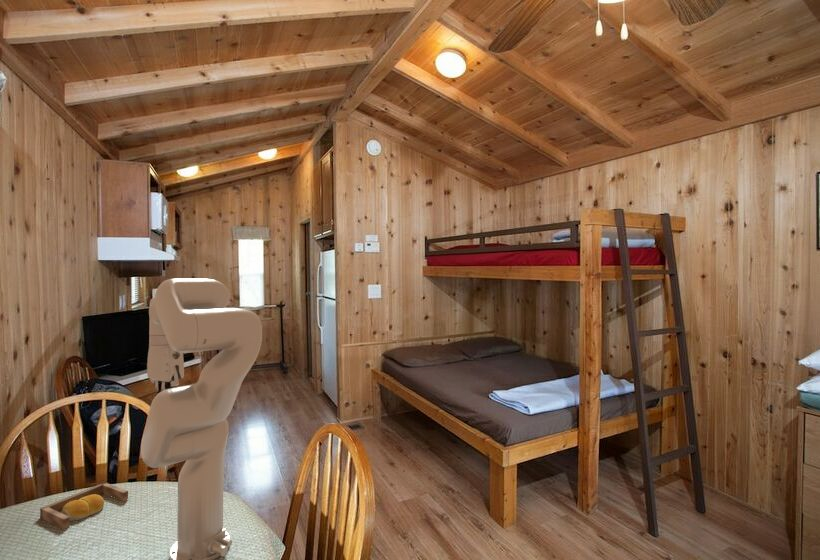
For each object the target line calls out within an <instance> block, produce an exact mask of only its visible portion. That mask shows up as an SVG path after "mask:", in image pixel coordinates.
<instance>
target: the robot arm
mask: <svg viewBox="0 0 820 560" xmlns="http://www.w3.org/2000/svg"><path fill="white" fill-rule="evenodd" d="M230 294H231V293H230V290H229V288H227V286H226V285H225V283H222V282H221V281H219V280H217V279H211V278H169V279H166V280H163V281H162V282H161V283H159V285H158V287H157V289H156V291H155V295H154V297H152V298H151V299H150V301H149V306H148V308H149V309H148V315H149V325H148V326H149V329H148V331H149V332H148V334H149V340H148V342H149V343H148V352H147V364H146V375H147V377H148V379H149V381H150V383H152V384H154V386H155V391H156V395H155V396H154V397H153V399H152V401H151V404H150V408H149V409H148V414H147V417H146V422H145V426H144V429H143V433H142V438H141V442H140V444H141V445H140V453H141V454H140V456H141V458H142V461H143V463H144V464H145V465H146V466H147V467H150V468H152V469H158V468H163V467H164V468H165V467H168V466H171V465H174V464H179V463H181V462H184V461H185V462H184V463H183V466H182V467H181V469H180V471H179V474H178V475H179V476H178V480H177V524H176V525H177V528H176V529H177V535H176V536H177V538H176V539H177V540H176V541H175V542H174V543H173V544H172V546H171V547H170V548H169V553H168V554H169V560H216V559H218V558H219V557H224V556H226V555H227V553H228V551H229V547H231V546H232V544H233V540H232V539H231V535H230V534H229V532H227V530H226V529H227V528H225V527H224V482H225V481H224V478H225V477H224V475H225V474H224V471H225V455H226V449H227V448H226V447H227V443H228V438H229V431H230V430H229V428H230V427H229V421H228V419H227V418H228V417H229V415H230V413H231V412H232V410H233V407H234V404H235V401H236V400H237V397H238V394H239V393H240V389H241V386H242V383H243V381H244V380H245V377H246V376H247V374H248V373H249V372H250V371H251V369H252V367H253V365H254V363H255V362H256V360H257V358H258V355H259V354H260V350H261V347H262V342H263V341H262V340H263V325H262V321H261V319H260V317H259V315H258V314H256V313H255V312H254V311H252V310H250V309H246V308H240V307H237V308H235V307H228V304H229V302H230V298H231V297H230V296H231V295H230ZM215 350H217V351H219V350H221V351H220V352H218V353H217V354H216V355H214V356H213V357H212V358H211V359H210V360H209V361H208V362H207V363H206V364H205V365H204V367H203V368H202V370H201V372H200V374H199V378H198V380H197V381H196V382H194V383H192V384H189V385H188V384H187V385H181V386H180V381H179V380H183V379H184V377H185V362H184V360H185V359H184V354H185V353H187V354H188V353H199V352H205V351H207V352H208V351H209V352H210V351H215Z"/></svg>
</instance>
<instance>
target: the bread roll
mask: <svg viewBox="0 0 820 560" xmlns="http://www.w3.org/2000/svg"><path fill="white" fill-rule="evenodd" d="M104 505H105V499H104V498H103V496H101V494H100V495H97V494H92V495H88V496H85V497H82V498H80V499H79V500H74V501H71V502H68V503H67V504H66V505H65V506H64V507H63V509H62V511H60V513H62V514H64V515H67V516H69V517H70V522H75V521H80V520H82V519H85V518H87V517H90V516H92V515H95V514H97V513H99V512H100V511H101V510H102V509H103V508H104ZM94 513H95V514H94Z"/></svg>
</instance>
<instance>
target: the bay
mask: <svg viewBox="0 0 820 560" xmlns="http://www.w3.org/2000/svg"><path fill="white" fill-rule="evenodd" d="M92 494H97V495H100V496H101V495H102V494H103V495H105V496H108V495H109V496H108V497H110V496H112V497H111V498H113V497H115V498H117V499H116V500H118V499H119V500H118V501H120V500H121V502H123V501H124V502H126V501H128V500H129V491H128V490H126V489H124V488H121V487H119V486H115V485H113V484H110V483H109V482H102V483H99V484H97V485H94V486H92V487H89V488H87V489H84V490H82V491H79V492H78V493H75V494H72V495H68V496H67V497H65V498H63V499H60V500H58V501H55V502H52V503H50V504H47V505H45V506H43V507H40V509H39V510H40V511H39V518H40V519H41V520H43V521H46V522H48V523H50V524H52V525H54V526H56V527H59V528H60V529H62V530H66V529H68V528H69V527H70V522H71V521H70V517H69V516H67V515H64V514H62V513H61V512H62V509H63V507H64V506H65V505H66V504H67V503H68V502H71V501H74V500H79V499H80V498H82V497H85V496H88V495H92ZM115 498H114V499H115ZM127 499H128V500H127ZM125 500H126V501H125Z"/></svg>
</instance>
